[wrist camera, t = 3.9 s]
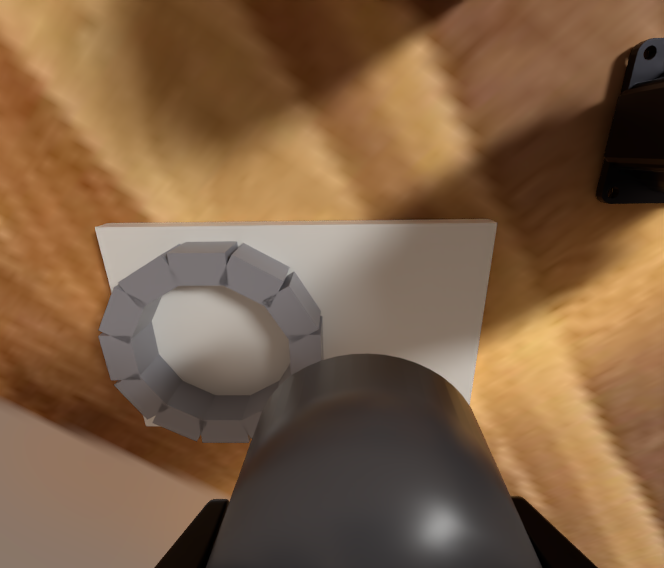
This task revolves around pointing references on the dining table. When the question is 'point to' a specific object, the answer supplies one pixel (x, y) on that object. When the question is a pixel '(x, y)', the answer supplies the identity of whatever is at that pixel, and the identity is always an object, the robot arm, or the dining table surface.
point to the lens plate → (345, 278)
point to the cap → (370, 477)
